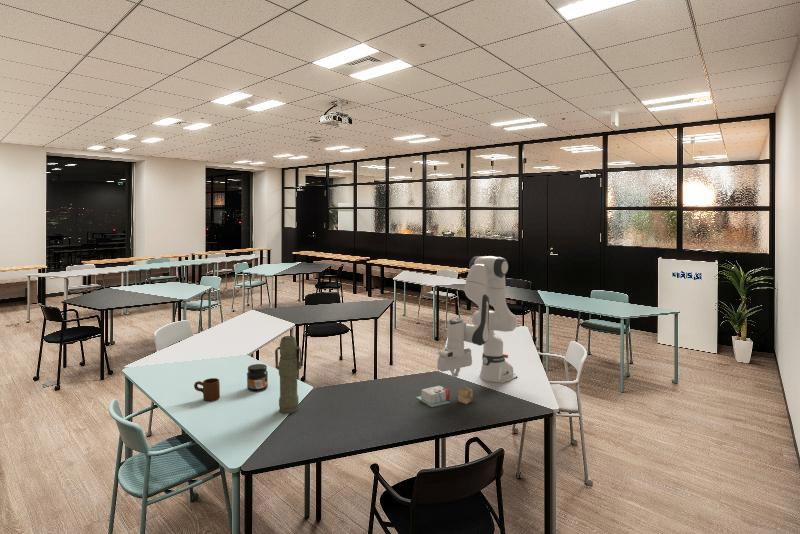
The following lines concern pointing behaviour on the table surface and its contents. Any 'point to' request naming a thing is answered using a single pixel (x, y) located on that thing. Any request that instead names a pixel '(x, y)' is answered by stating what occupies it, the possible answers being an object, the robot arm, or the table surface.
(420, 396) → the mat
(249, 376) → the supplement container
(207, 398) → the mug
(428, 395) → the ink box
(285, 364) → the thermos
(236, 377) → the table surface
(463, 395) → the oak block
